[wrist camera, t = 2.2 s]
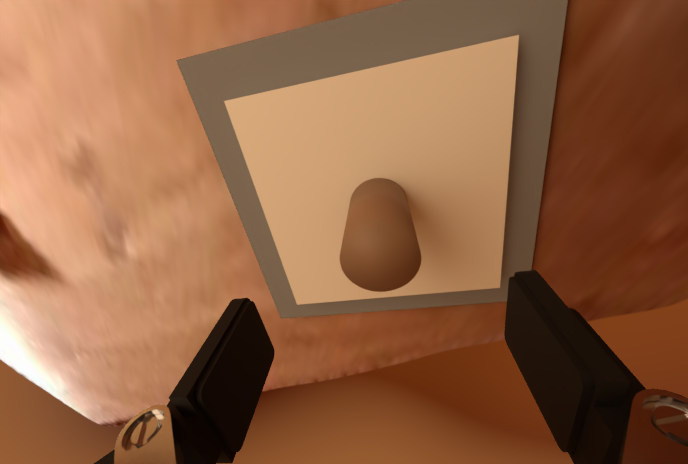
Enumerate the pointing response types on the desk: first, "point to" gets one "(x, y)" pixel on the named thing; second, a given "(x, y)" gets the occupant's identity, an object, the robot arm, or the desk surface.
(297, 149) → the cover board
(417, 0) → the slate mat
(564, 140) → the desk surface
